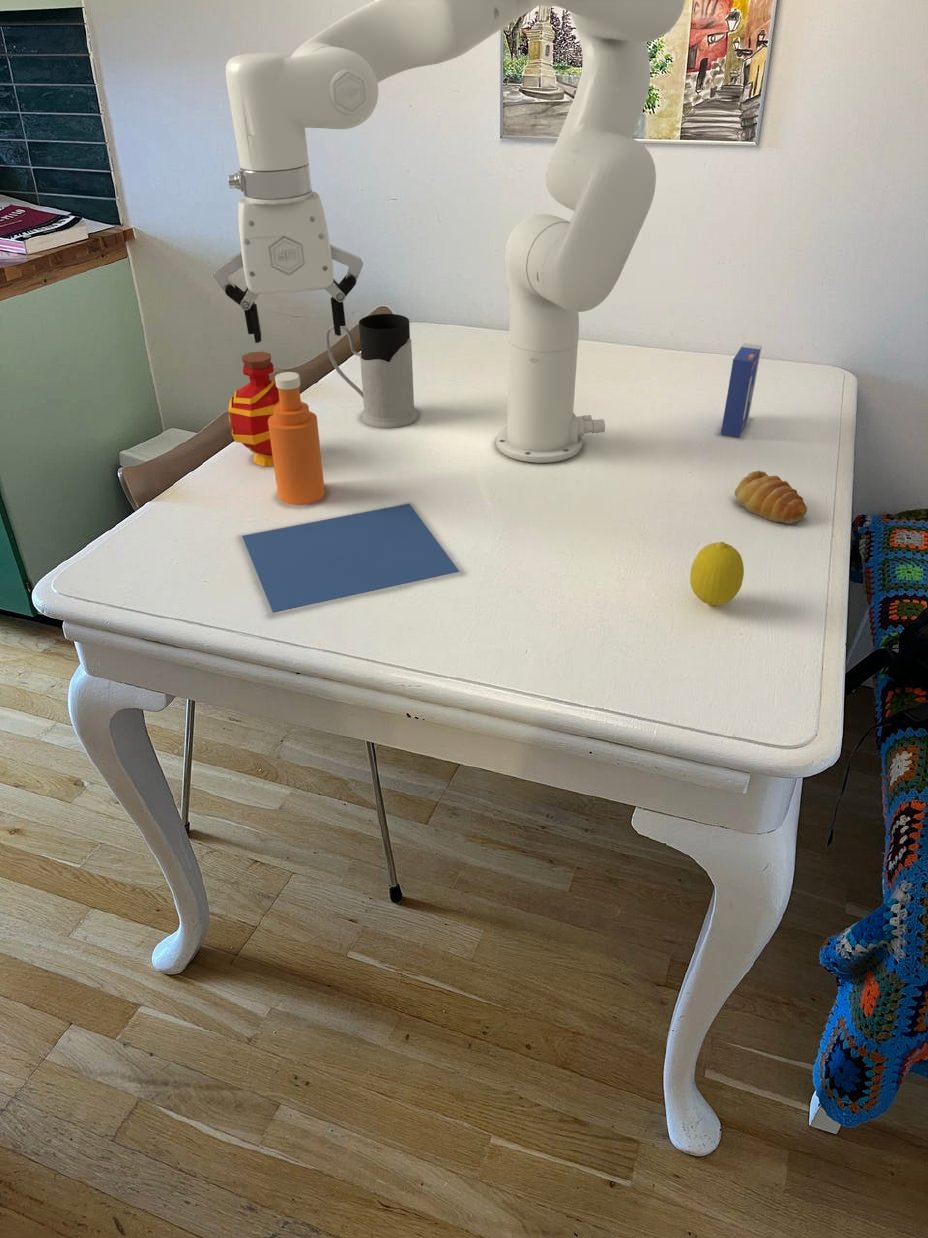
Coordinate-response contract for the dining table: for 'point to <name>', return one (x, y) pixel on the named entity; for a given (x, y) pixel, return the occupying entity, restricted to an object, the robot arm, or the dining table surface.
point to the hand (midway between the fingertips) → (298, 335)
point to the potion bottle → (255, 407)
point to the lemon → (717, 573)
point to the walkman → (741, 389)
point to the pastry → (770, 498)
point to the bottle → (295, 445)
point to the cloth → (345, 556)
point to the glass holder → (383, 370)
